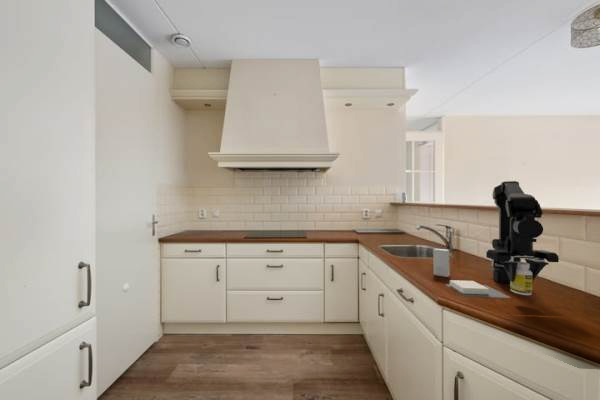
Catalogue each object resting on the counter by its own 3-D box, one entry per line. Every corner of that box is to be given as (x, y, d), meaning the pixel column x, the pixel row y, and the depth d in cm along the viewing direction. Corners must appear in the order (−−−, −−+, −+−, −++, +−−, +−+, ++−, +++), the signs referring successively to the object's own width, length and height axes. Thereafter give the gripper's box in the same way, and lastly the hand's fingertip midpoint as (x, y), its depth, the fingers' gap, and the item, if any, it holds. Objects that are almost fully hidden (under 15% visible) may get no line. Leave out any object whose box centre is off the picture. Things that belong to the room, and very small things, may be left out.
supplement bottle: (527, 296, 79) (527, 265, 79) (507, 291, 83) (507, 261, 83) (535, 293, 81) (535, 263, 81) (515, 288, 86) (515, 260, 86)
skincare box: (449, 275, 115) (449, 249, 115) (448, 278, 111) (448, 250, 111) (434, 273, 119) (434, 247, 119) (432, 275, 115) (432, 249, 115)
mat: (486, 286, 101) (486, 285, 101) (511, 298, 88) (511, 297, 88) (445, 285, 102) (445, 284, 102) (463, 297, 89) (463, 296, 89)
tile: (473, 280, 99) (449, 280, 100) (488, 288, 90) (462, 288, 91) (473, 286, 99) (449, 285, 100) (488, 295, 90) (462, 294, 91)
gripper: (530, 231, 90) (530, 275, 90) (476, 231, 91) (475, 273, 91) (560, 236, 79) (560, 285, 79) (498, 235, 80) (498, 284, 80)
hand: (521, 281), depth 82 cm, fingers closed on supplement bottle, 5 cm apart
